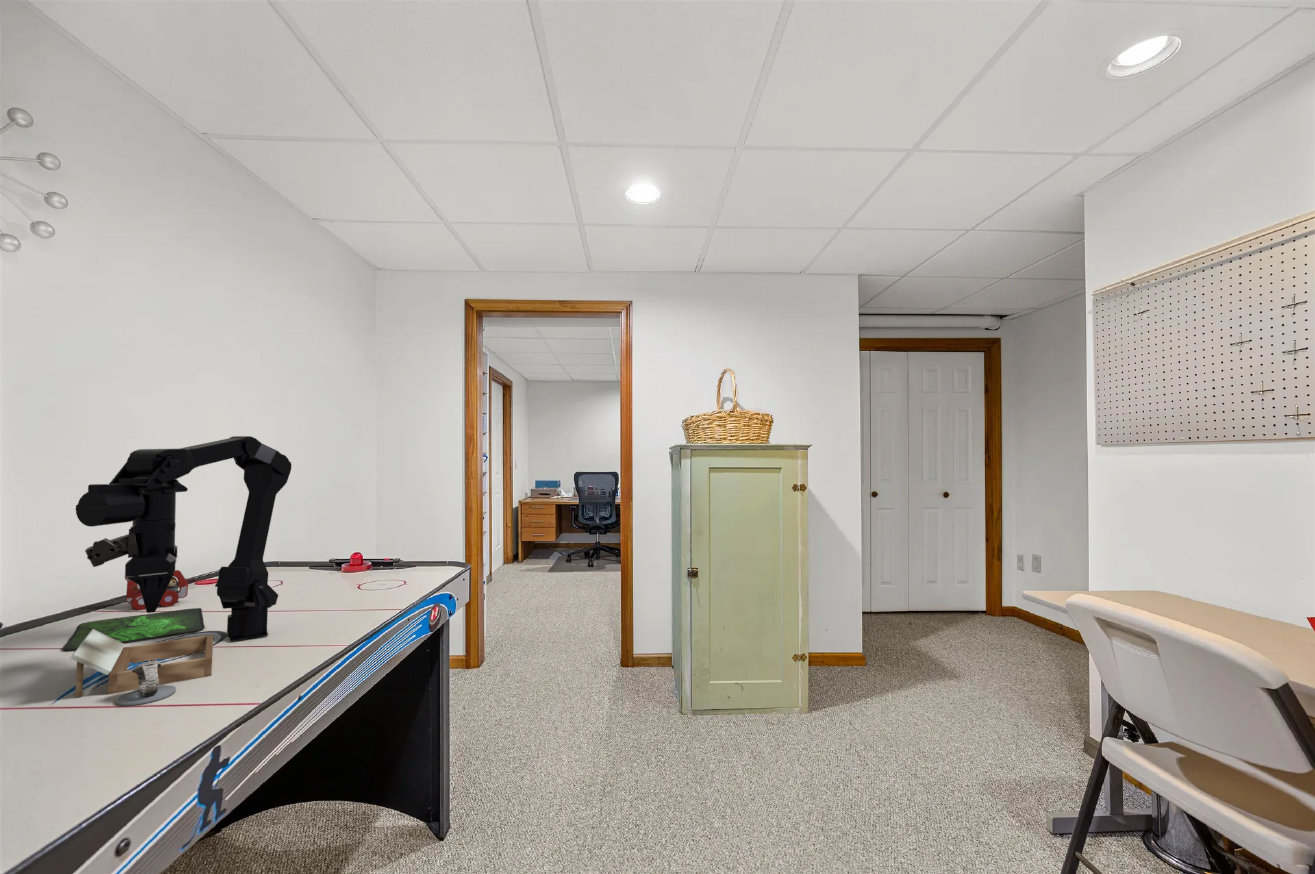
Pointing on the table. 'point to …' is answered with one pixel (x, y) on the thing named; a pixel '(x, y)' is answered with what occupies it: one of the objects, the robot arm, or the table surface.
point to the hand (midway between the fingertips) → (152, 606)
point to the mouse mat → (141, 627)
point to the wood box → (140, 660)
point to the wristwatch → (147, 677)
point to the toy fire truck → (168, 598)
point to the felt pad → (137, 699)
